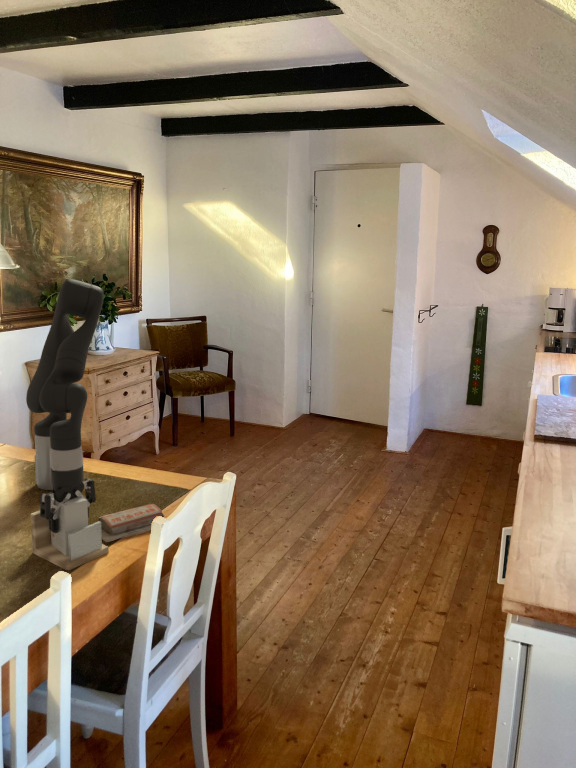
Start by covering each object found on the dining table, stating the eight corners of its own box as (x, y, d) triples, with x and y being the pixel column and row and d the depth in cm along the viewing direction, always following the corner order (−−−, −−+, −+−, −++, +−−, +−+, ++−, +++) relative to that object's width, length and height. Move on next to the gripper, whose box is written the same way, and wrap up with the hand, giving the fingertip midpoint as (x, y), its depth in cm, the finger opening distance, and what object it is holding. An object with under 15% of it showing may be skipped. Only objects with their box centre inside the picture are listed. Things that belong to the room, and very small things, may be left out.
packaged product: (151, 499, 185) (168, 510, 178) (151, 514, 186) (168, 527, 179) (90, 513, 174) (105, 527, 167) (90, 530, 175) (105, 544, 168)
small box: (90, 548, 161) (88, 499, 158) (65, 556, 156) (63, 506, 154) (74, 537, 166) (72, 490, 164) (50, 545, 162) (48, 496, 159)
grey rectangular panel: (69, 560, 155) (67, 533, 153) (99, 547, 162) (99, 521, 160) (71, 561, 154) (69, 534, 153) (102, 548, 161) (101, 522, 160)
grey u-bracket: (32, 553, 161) (30, 513, 159) (73, 536, 170) (72, 498, 168) (67, 570, 153) (65, 529, 151) (108, 552, 162) (107, 513, 160)
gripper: (81, 453, 164) (84, 513, 168) (31, 468, 153) (34, 531, 157) (100, 460, 160) (102, 521, 164) (50, 475, 149) (53, 540, 152)
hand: (69, 526), depth 160 cm, fingers open, 8 cm apart
